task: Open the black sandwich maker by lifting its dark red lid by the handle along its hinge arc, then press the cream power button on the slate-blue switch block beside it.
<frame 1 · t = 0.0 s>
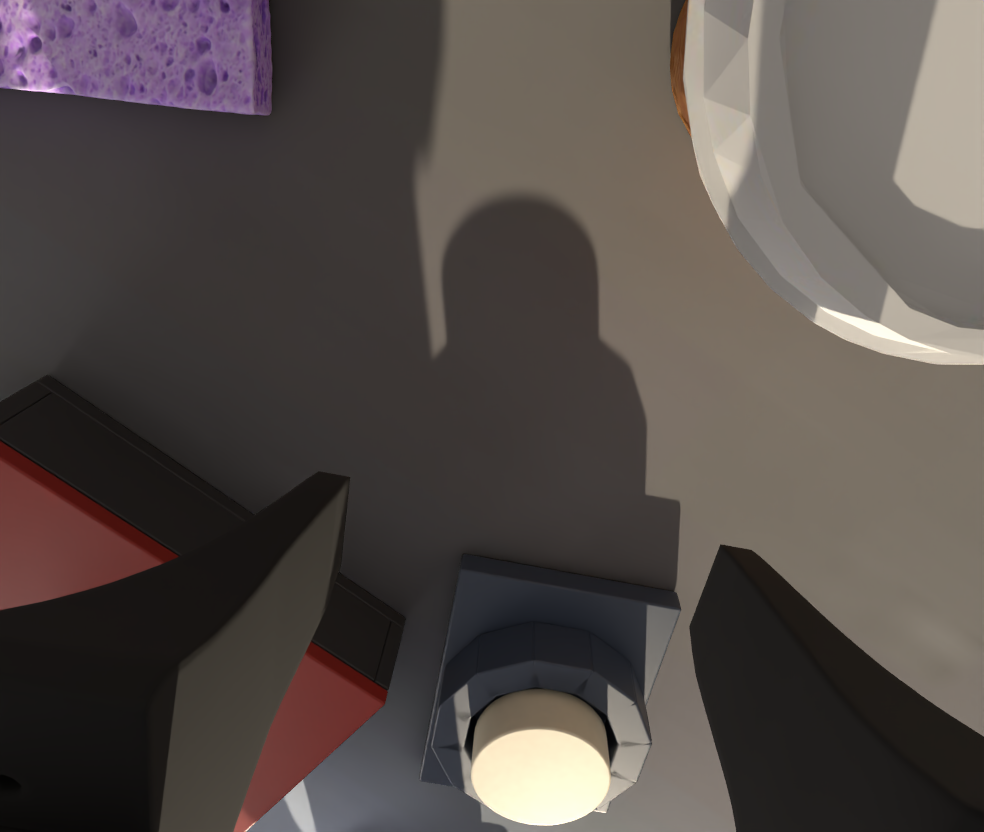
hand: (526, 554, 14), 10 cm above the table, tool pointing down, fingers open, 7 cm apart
power button: (540, 757, 25), point 3 cm above the table, slide at 0.1 cm
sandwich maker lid: (75, 716, 23), point 6 cm above the table, hinge at 0.0°
sandwich maker: (164, 596, 28), on the table
switch block: (539, 682, 28), on the table
disposable coffee cup: (788, 53, 19), on the table
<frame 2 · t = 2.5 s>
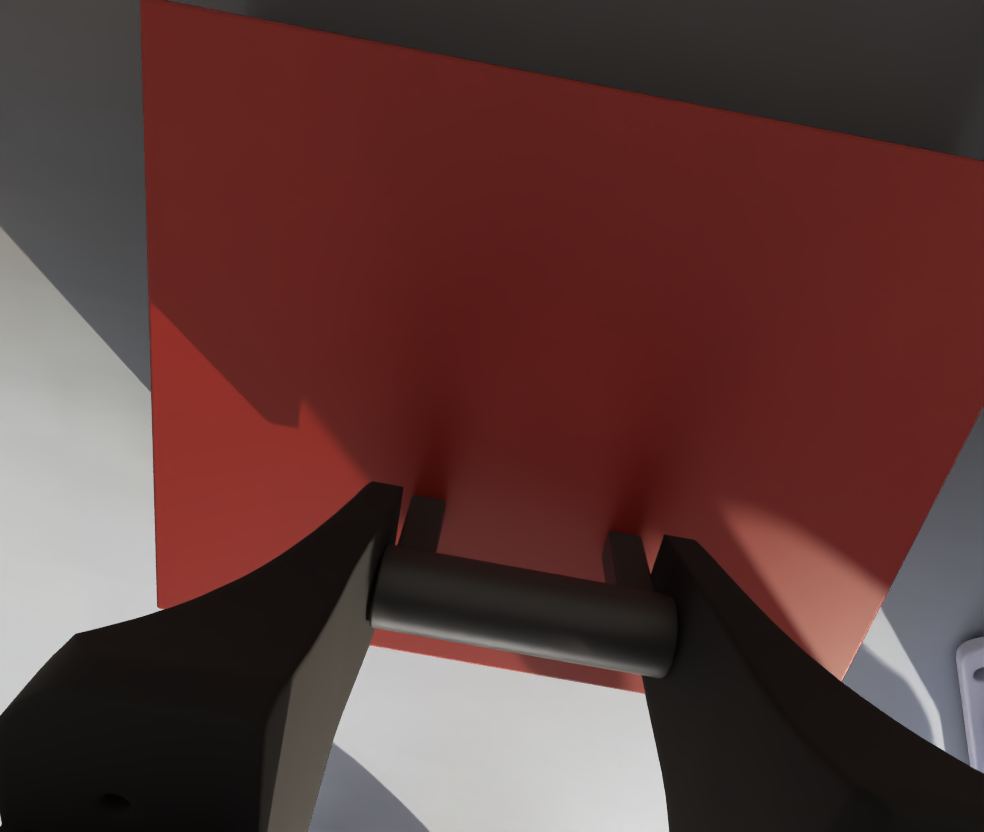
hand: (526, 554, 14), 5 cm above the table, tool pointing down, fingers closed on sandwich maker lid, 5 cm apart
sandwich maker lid: (548, 465, 12), point 6 cm above the table, hinge at 0.0°, touching gripper
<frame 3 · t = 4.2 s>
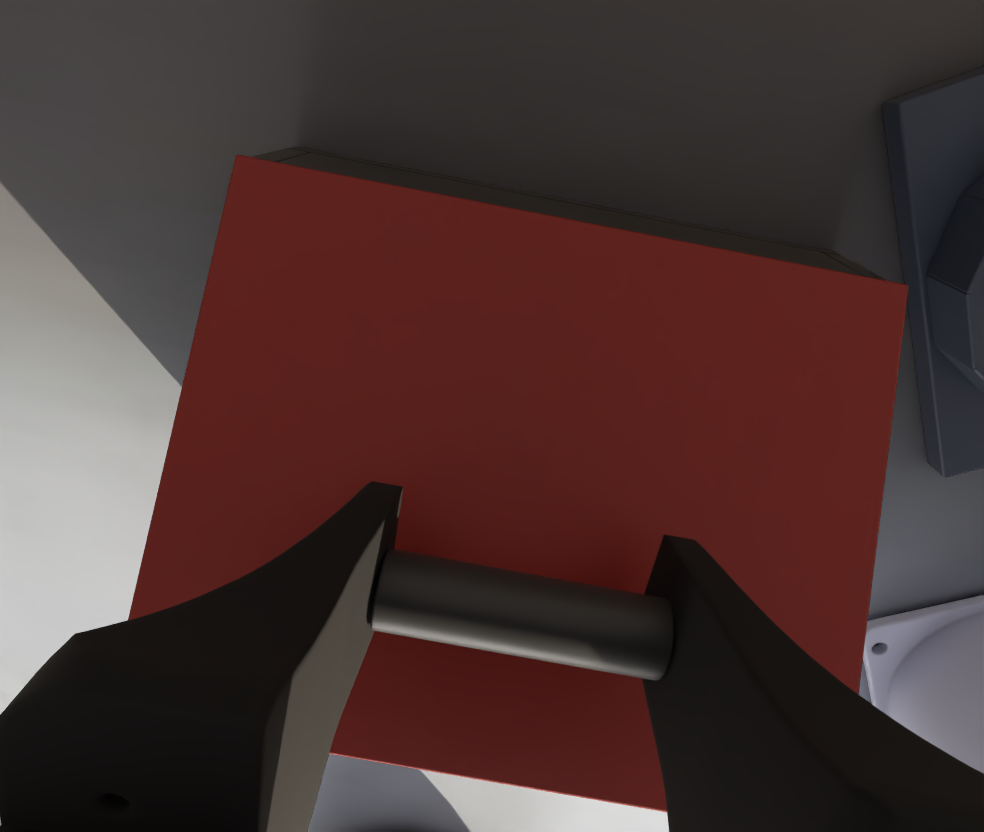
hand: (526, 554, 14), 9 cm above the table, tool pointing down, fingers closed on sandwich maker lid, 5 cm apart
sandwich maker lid: (536, 488, 14), point 8 cm above the table, hinge at 31.0°, touching gripper
sandwich maker: (527, 384, 22), on the table
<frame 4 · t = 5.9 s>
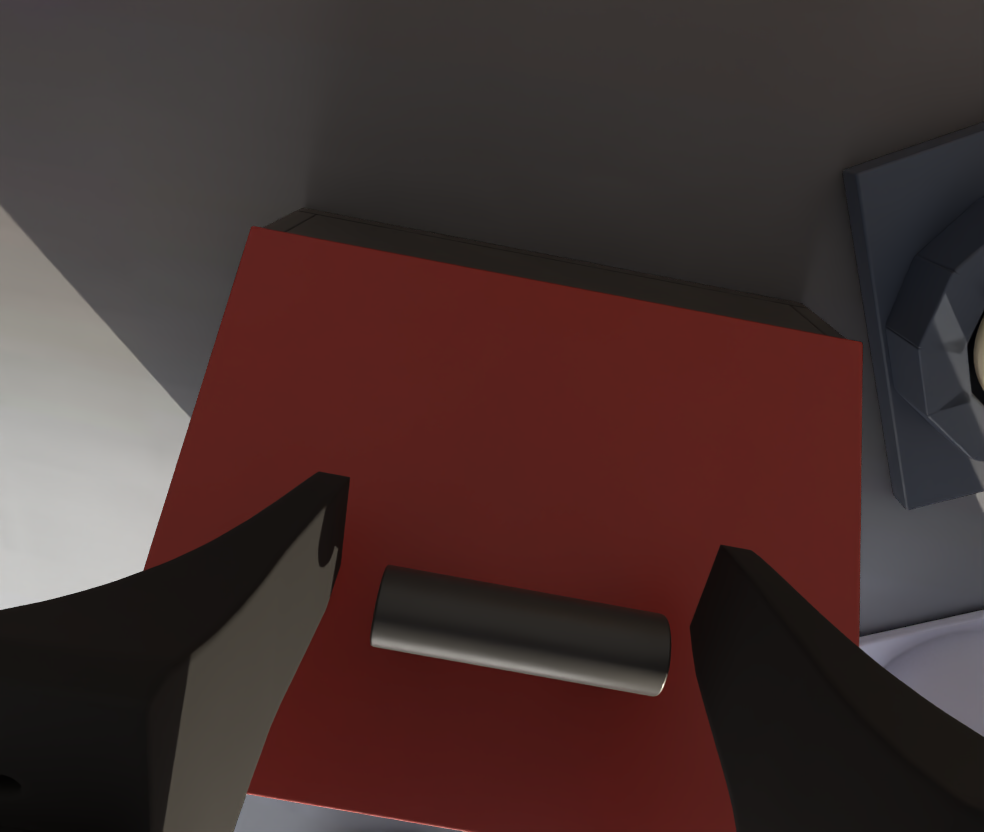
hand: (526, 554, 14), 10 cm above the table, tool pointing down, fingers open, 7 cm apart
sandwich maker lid: (529, 517, 14), point 9 cm above the table, hinge at 42.2°
sandwich maker: (518, 422, 24), on the table
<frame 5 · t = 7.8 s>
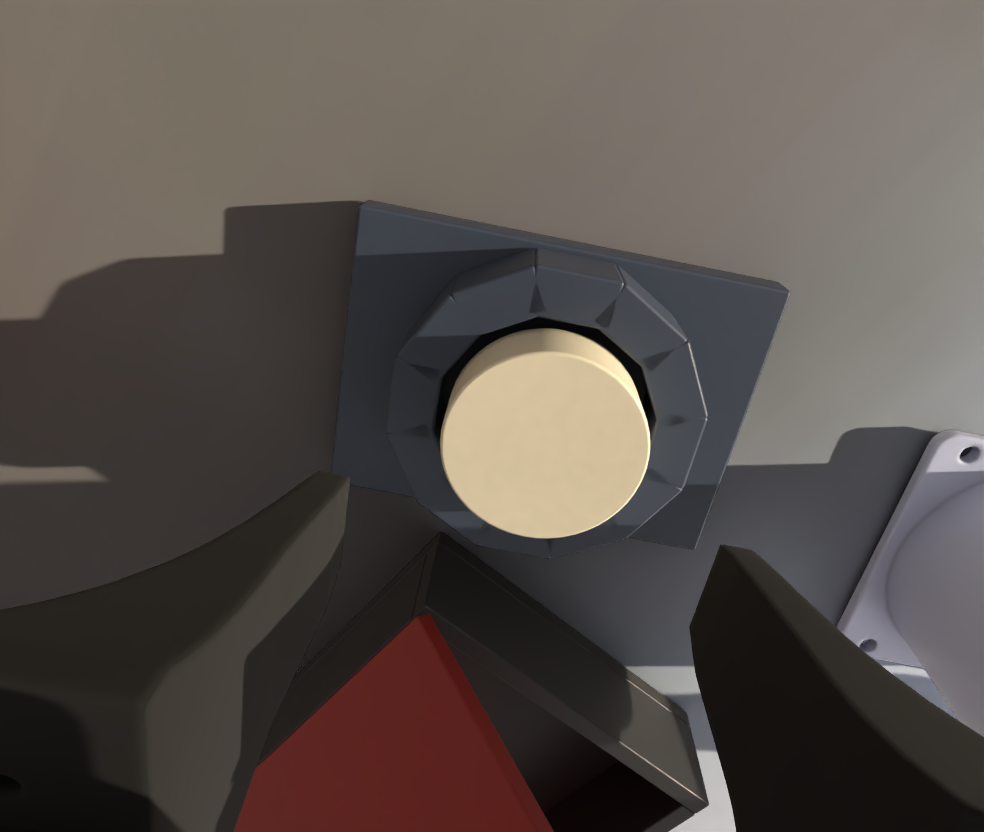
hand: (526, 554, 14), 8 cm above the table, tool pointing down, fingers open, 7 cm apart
power button: (543, 434, 17), point 3 cm above the table, slide at 0.1 cm
sandwich maker: (430, 743, 26), on the table
switch block: (542, 380, 20), on the table
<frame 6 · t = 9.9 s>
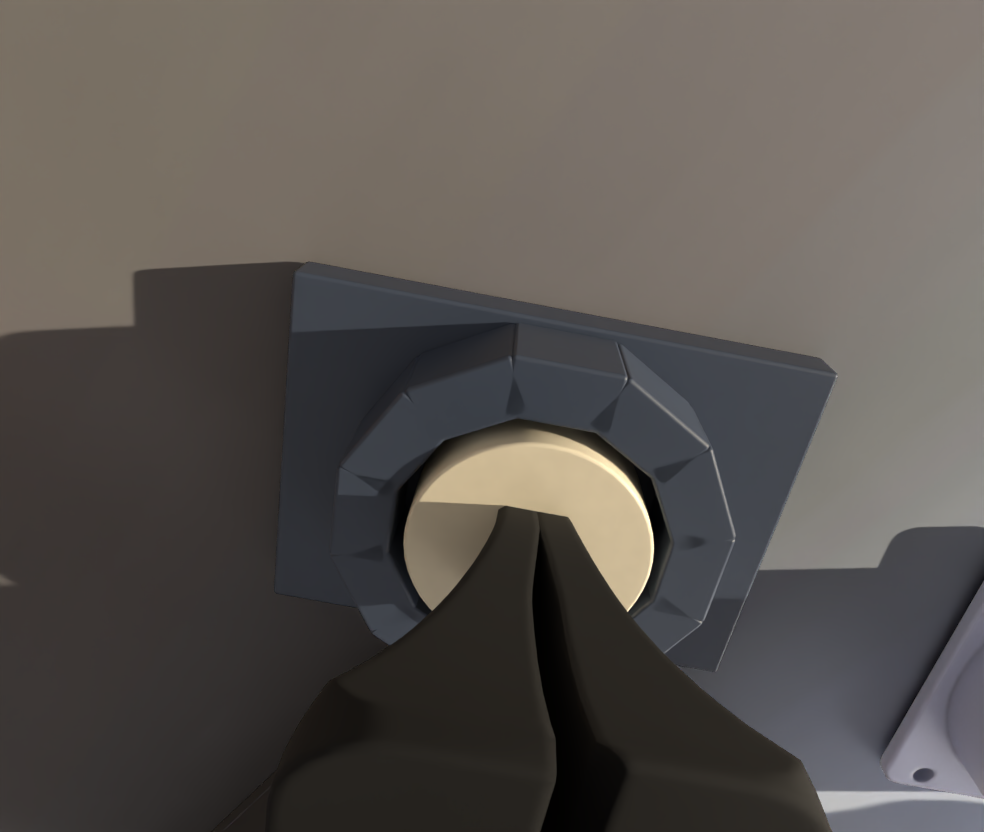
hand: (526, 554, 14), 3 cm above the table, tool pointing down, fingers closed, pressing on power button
power button: (527, 530, 14), point 2 cm above the table, slide at -1.0 cm, touching gripper
switch block: (529, 473, 17), on the table
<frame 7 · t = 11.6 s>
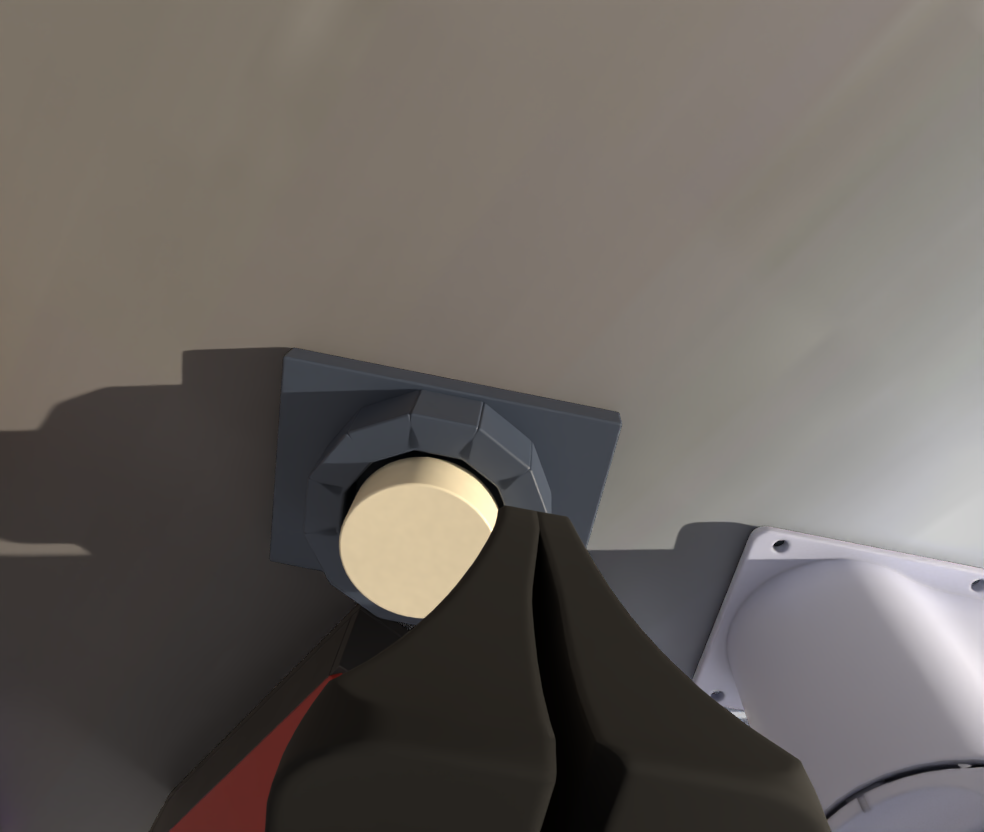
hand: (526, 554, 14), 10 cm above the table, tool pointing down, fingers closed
power button: (422, 538, 22), point 3 cm above the table, slide at 0.1 cm
sandwich maker: (364, 771, 31), on the table
switch block: (438, 482, 25), on the table
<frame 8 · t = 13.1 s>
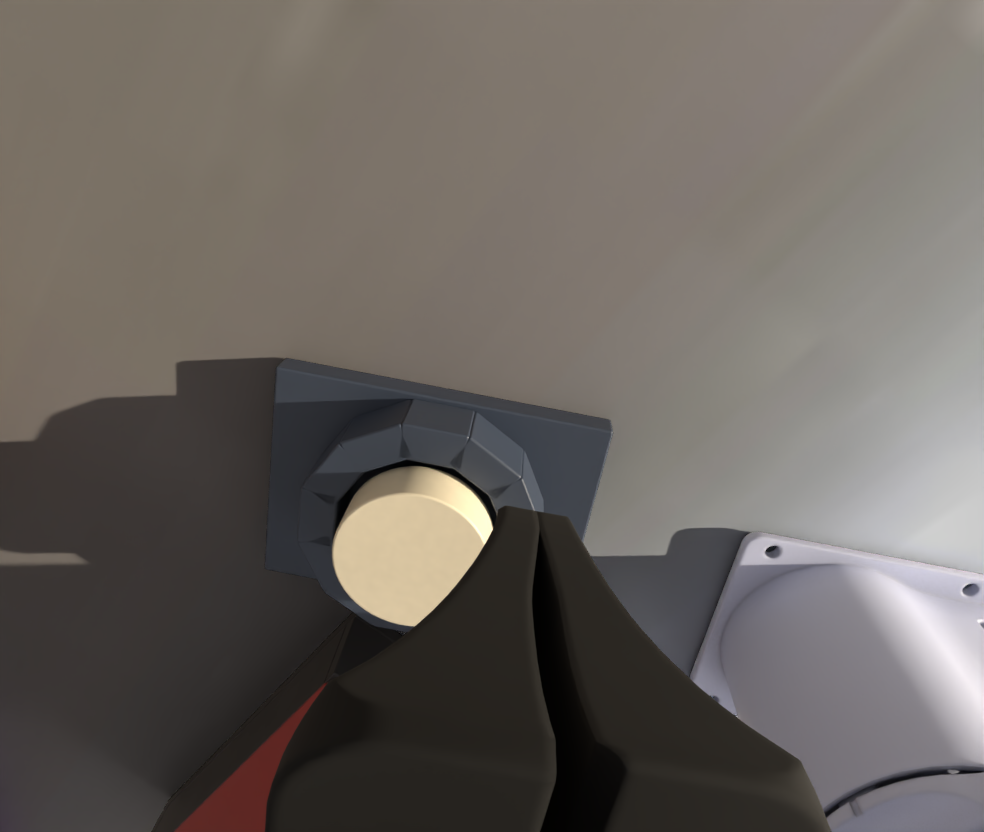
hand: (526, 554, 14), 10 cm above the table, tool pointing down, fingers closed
power button: (415, 546, 22), point 3 cm above the table, slide at 0.1 cm
sandwich maker: (361, 777, 31), on the table
switch block: (431, 490, 25), on the table
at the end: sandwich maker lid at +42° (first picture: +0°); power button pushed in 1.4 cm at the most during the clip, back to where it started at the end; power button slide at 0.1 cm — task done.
